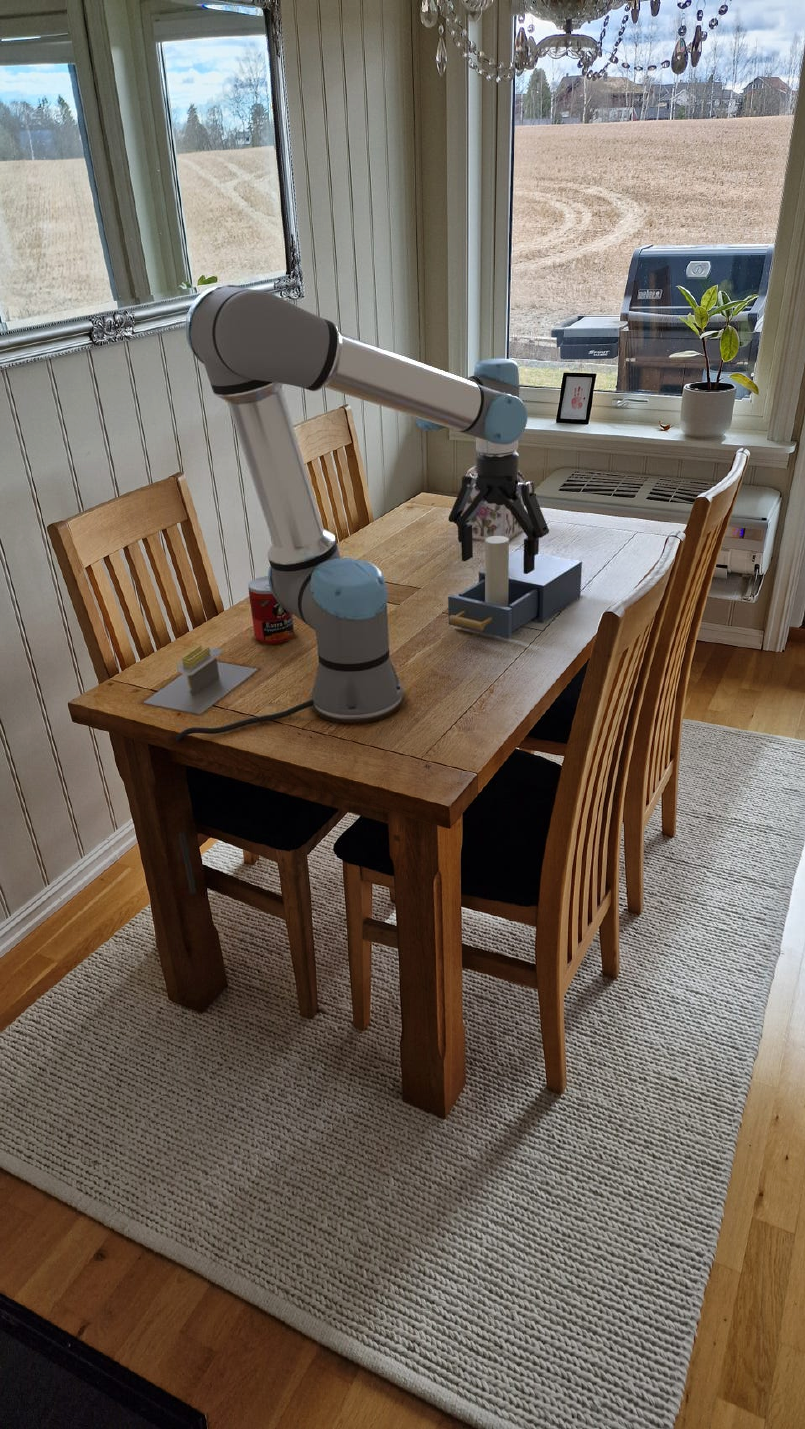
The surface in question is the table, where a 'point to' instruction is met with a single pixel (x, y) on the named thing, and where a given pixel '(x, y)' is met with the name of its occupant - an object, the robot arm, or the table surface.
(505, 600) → the candle
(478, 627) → the drawer
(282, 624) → the canned food
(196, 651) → the platform
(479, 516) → the decorative jar
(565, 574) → the cabinet
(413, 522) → the table surface
